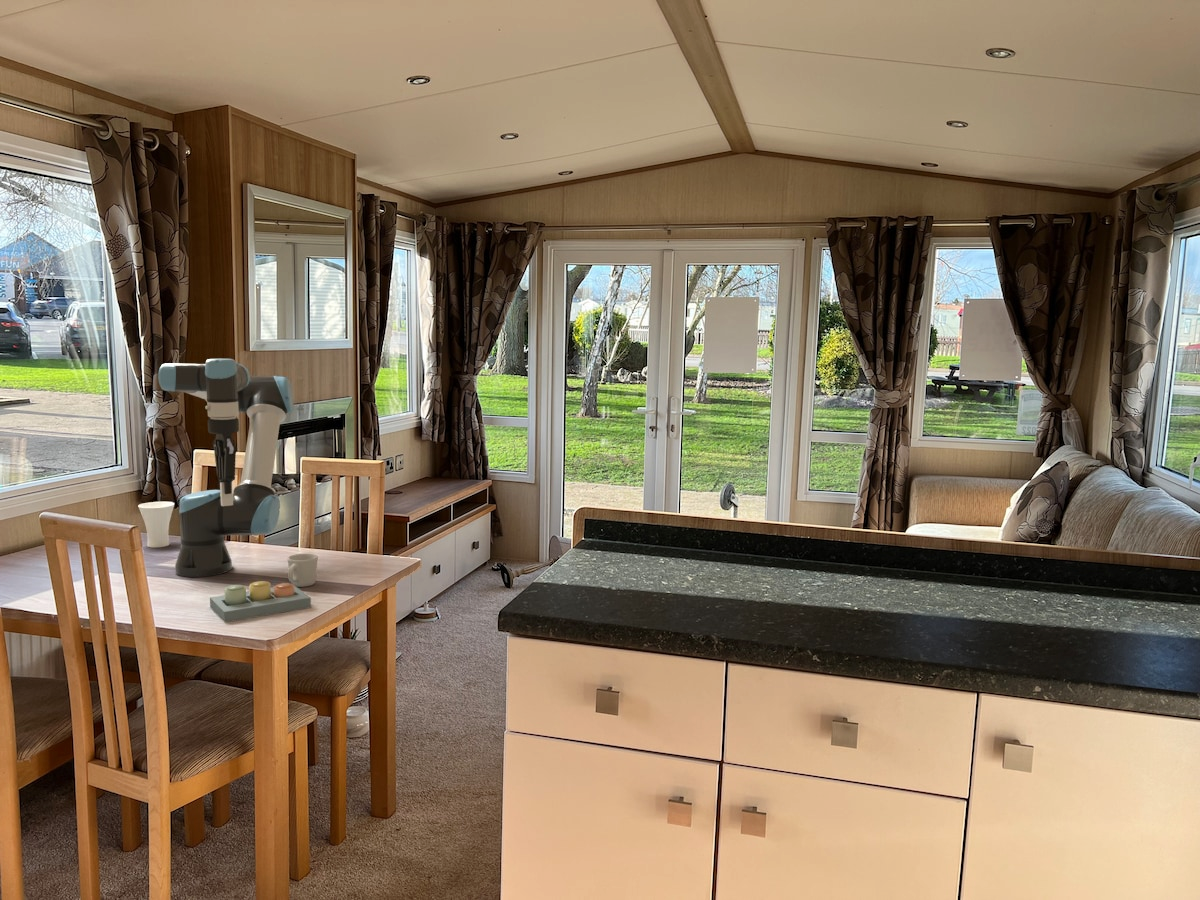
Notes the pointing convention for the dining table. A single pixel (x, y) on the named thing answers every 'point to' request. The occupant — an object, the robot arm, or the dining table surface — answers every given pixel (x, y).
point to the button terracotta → (283, 590)
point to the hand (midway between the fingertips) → (227, 505)
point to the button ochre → (260, 591)
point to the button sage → (235, 595)
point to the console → (259, 606)
